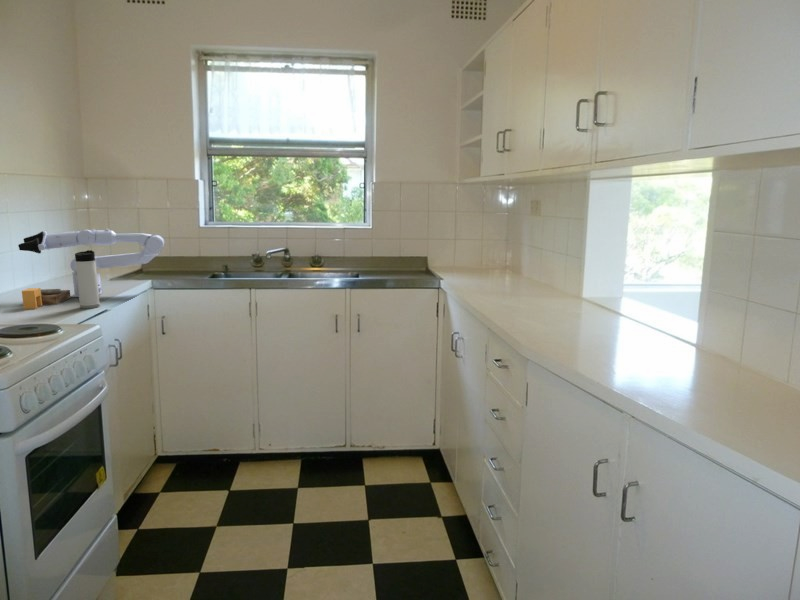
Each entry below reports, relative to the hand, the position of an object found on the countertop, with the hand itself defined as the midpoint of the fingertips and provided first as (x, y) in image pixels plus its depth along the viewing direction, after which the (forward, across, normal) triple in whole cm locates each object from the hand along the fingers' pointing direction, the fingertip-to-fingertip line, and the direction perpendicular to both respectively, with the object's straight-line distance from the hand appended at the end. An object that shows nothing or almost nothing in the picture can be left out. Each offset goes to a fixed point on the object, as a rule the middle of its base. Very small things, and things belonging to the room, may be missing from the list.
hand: (21, 244), depth 232 cm
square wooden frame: (-7, +14, +19) cm, 25 cm away
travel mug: (-25, +32, +17) cm, 44 cm away
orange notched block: (-6, +26, +16) cm, 31 cm away
